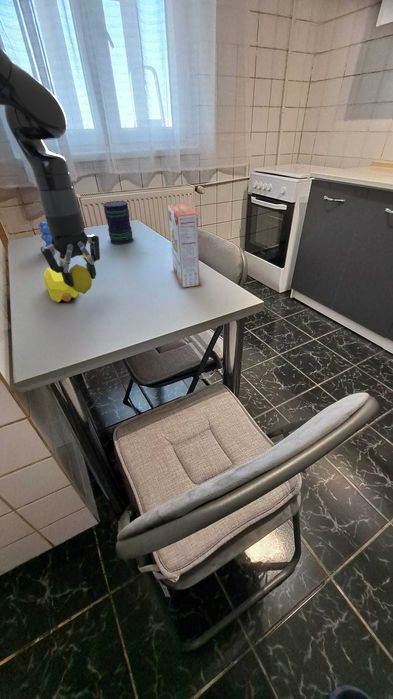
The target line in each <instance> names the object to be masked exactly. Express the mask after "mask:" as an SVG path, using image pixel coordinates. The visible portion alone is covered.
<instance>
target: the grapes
mask: <svg viewBox="0 0 393 699" xmlns="http://www.w3.org/2000/svg"><path fill="white" fill-rule="evenodd" d="M38 227H39V228H40V230H39V231H40V233H41V237H40V239H42V241H44V242H45V246H44V247H47V246H49V245H51V244H52V236H51V234H50V231H49V228H48V224H47V222H45V221H44V220H42V221H40V222H39V224H38ZM55 250H56V249H54V251H55Z"/></svg>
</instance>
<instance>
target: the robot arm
mask: <svg viewBox="0 0 393 699" xmlns="http://www.w3.org/2000/svg"><path fill="white" fill-rule="evenodd" d="M0 106H3V107H4V116H5V121H6V123H7V126H8V128H9V130H10V132H11V134H12V136H13V137H14V139H15V142H16V143H17V145H18V147H19V149H20V151H21V152H22V154H23V156H24V158H25V159H26V161H27V162H28V165H29V166H30V168H31V171H32V176H33V178H34V180H35V184H36V188H37V191H38V197H39V201H40V205H41V208H42V211H43V215H44V218H45V221H46V223H47V224H48V229H49V231H50V234H51V236H52V244H51V245H49V246H47V247H45V246H41V247H40V252H41V254H42V255H43V257H44V258H45V260H46V263H47V264H48V266H49V268H51V270H53V271H55V272H57V273H61V274H62V277H63V280H64V283H65V284H67V285H68V286H70V287H72V286H74V285H73V281H72V278H71V275H70V272H69V270H70V264H71V261H72V259H73V258H75V257H81V258H82V259H83V260H84V261H85V268H86V269H87V270H88V271H89V273H90V275H91V278H92V280H94V279H96V276H97V272H96V271H97V270H96V267H95V266H96V265H95V262H97V261H99V260H100V259H101V254H100V253H101V252H100V237H99V236H98V235H95V234H93V233H90V234H89V235H87V234H86V232H85V226H84V222H83V218H82V214H81V210H80V204H79V202H78V198H77V195H76V193H75V190H74V187H73V182H72V177H71V174H70V169H69V166H68V163H67V160H66V159H65V157H64V156H62V155H59V154H56V153H54V152H51V151H49V150H48V148H47V146H46V145H45V143H44V141H47V140H48V141H49V140H50V141H51V140H53V141H54V140H58V139H60V138H62V137H63V136H64V135H65V133H66V131H67V127H68V126H67V125H68V124H67V117H66V113H65V112H64V109H63V107H62V105H61V103H60V102H59V100H58V99H57V98H56V96H55V95H54V94H53V93H52V92H51V91H50V90H49V89H48V88H47V87H46V86H45V85H43V84H42V83H41V82H40V81H39V80H37V79H36V78H35V77H33V76H32V75H31V74H30V73H29V72H27V71H26V70H25V69H23V68H22V67H21V66H19V65H17V64H16V63H15V62H14V61H13V60H12V58H10V56H9V55H8V53H7V52H5V50H4V49H3V48H2V47H1V46H0ZM43 140H44V141H43ZM87 244H89V251H88V249H87ZM54 249H55V250H56V251H57V252H58V261H59V262H57V260H56V258H55V256H54V255H55V250H54Z"/></svg>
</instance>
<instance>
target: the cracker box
mask: <svg viewBox="0 0 393 699" xmlns="http://www.w3.org/2000/svg"><path fill="white" fill-rule="evenodd" d="M167 209H168V210H167V211H168V221H169V233H170V243H171V244H170V245H171V258H172V267H173V272H174V274H175V276H176V278H177V280H178V282H179V285H180V286H181V288H182V289H185V288H191V287H198V286H200V259H199V258H200V257H199V255H200V254H199V223H198V222H199V221H198V220H199V218H198V213H197V212H196V211H195V210H193V209H192V208H191V207H190V206H189V205H188V204H187V203H174V204H172V203H171V204H168V205H167Z"/></svg>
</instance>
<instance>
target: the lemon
mask: <svg viewBox="0 0 393 699" xmlns="http://www.w3.org/2000/svg"><path fill="white" fill-rule="evenodd" d="M68 272H70V275H71V278H72V281H73V285H74V286H72V288H73V289H74V290H75V291H77V292H79V294H80V293H81V294H83V295H85V294H86V293H87V292H88V291H90V290H91V288H92V286H93V279H92V278H91V275H90V273H89V271H88V270H87V268H86V266H83V265H80V264H78V263H75V264H74V265H73V266H72V267H70V268H69V270H68Z"/></svg>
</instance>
